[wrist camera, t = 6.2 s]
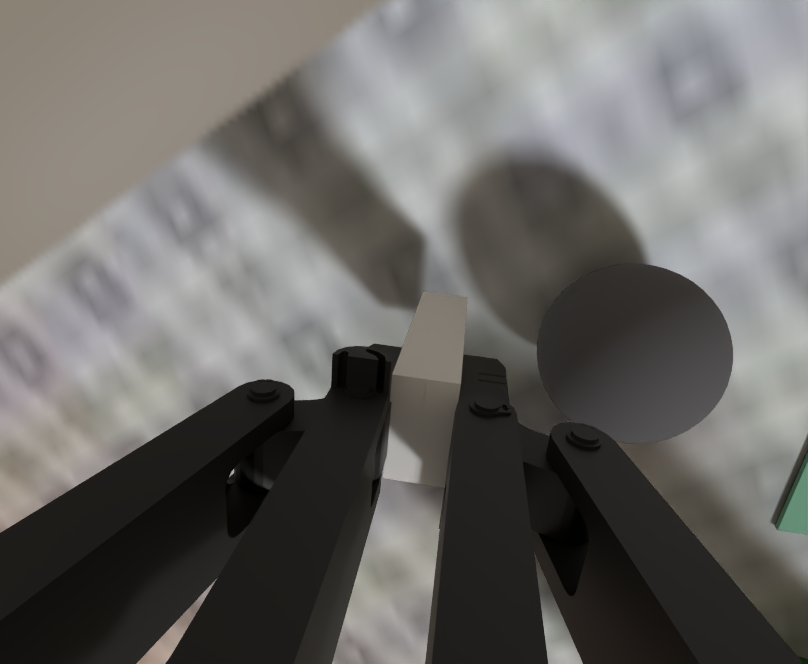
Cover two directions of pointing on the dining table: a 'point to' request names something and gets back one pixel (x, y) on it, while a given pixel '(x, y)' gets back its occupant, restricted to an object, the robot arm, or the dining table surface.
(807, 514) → the green mark
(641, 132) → the dining table surface
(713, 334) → the cue ball black
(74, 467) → the dining table surface
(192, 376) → the dining table surface
